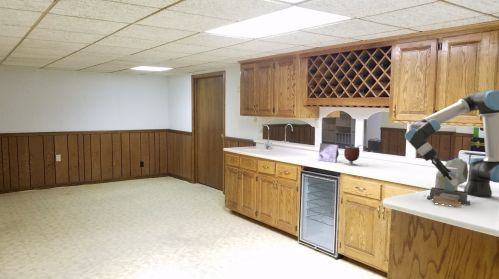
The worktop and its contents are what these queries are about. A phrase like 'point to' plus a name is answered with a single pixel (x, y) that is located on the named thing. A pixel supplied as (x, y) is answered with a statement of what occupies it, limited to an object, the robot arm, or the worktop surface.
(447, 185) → the slate board
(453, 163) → the rock
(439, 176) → the supplement tub
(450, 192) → the slot rack
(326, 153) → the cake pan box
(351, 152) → the mate gourd
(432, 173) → the worktop surface
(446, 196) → the offcut stack
